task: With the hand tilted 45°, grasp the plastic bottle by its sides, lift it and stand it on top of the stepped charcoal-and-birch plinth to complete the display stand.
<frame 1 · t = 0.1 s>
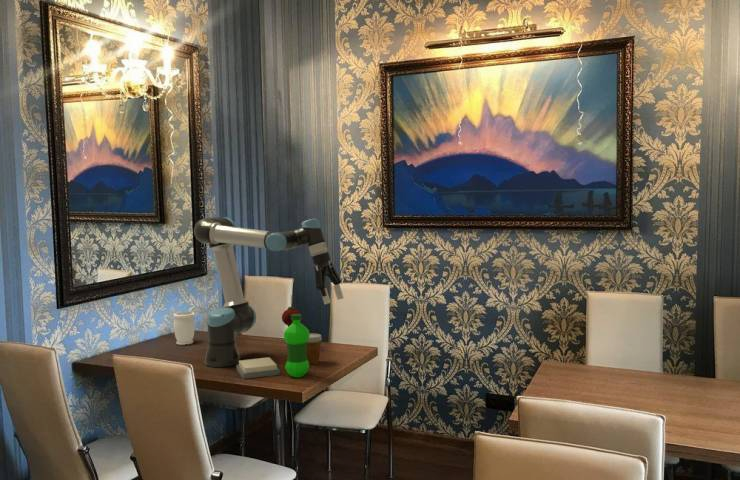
hand: (334, 301, 269), 28 cm above the table, tool tilted 20°, fingers open, 13 cm apart
jar: (184, 343, 315), on the table
disposable coffee cup: (311, 362, 276), on the table
plastic bottle: (297, 375, 256), on the table
stepped plinth: (257, 372, 262), on the table
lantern: (292, 349, 301), on the table
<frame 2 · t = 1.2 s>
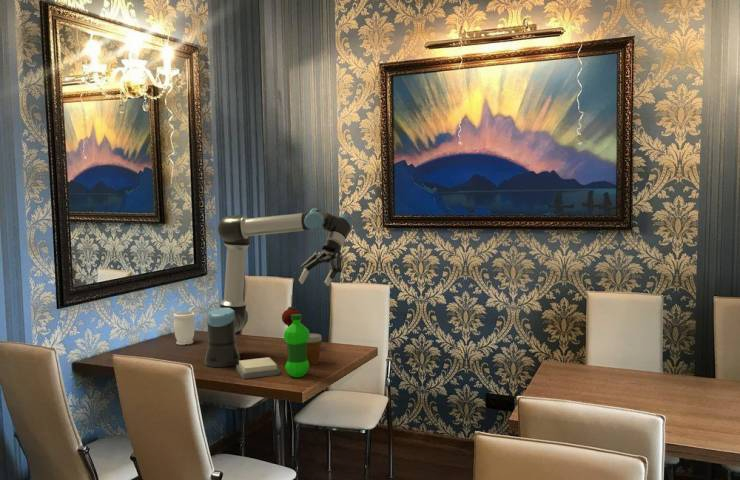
hand: (313, 283, 262), 37 cm above the table, tool tilted 45°, fingers open, 13 cm apart
nothing on the table moved.
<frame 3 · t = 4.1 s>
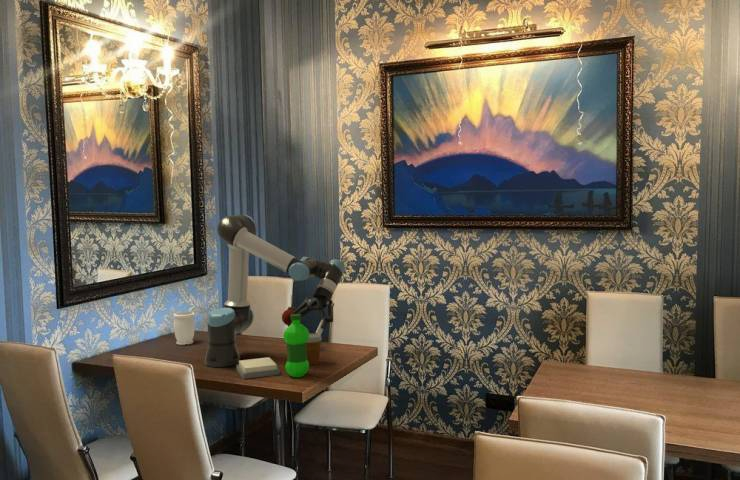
hand: (303, 333, 256), 17 cm above the table, tool tilted 45°, fingers open, 13 cm apart
plastic bottle: (297, 375, 256), on the table, touching gripper
everything else where it was.
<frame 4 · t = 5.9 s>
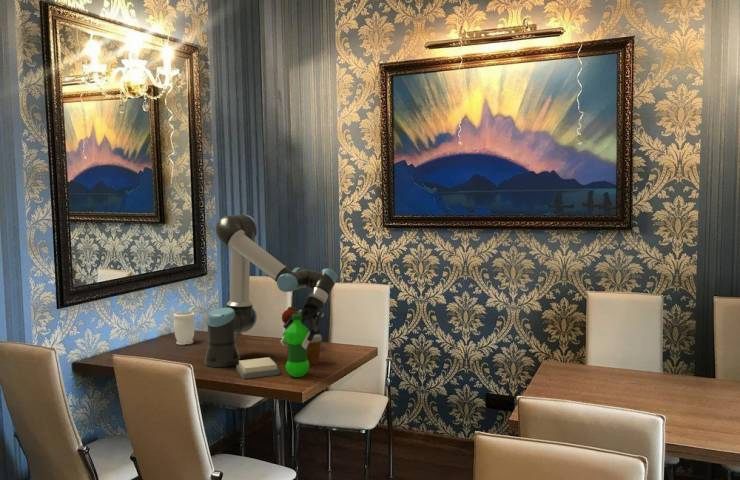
hand: (292, 345, 253), 13 cm above the table, tool tilted 45°, fingers closed on plastic bottle, 10 cm apart
plastic bottle: (297, 375, 256), on the table, touching gripper
everything else where it was.
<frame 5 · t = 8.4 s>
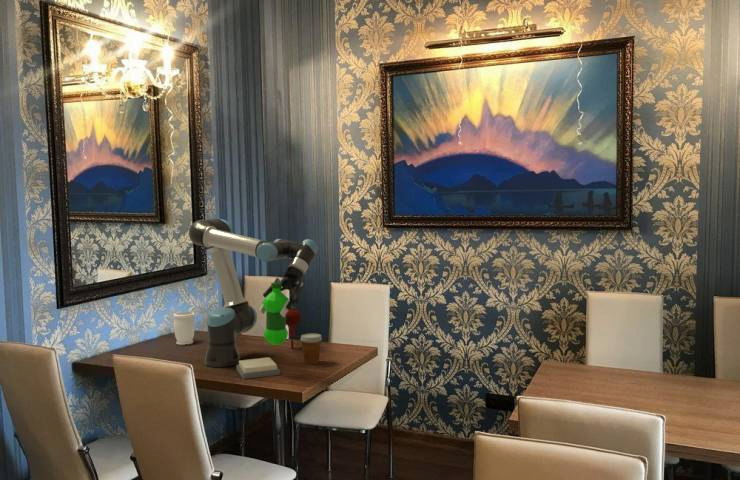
hand: (271, 313, 254), 26 cm above the table, tool tilted 45°, fingers closed on plastic bottle, 10 cm apart
plastic bottle: (275, 343, 258), point 13 cm above the table, touching gripper
everything else where it was.
when the fingers open (18 cm above the table, at t = 10.9 s): plastic bottle drops 2 cm, resting on stepped plinth.
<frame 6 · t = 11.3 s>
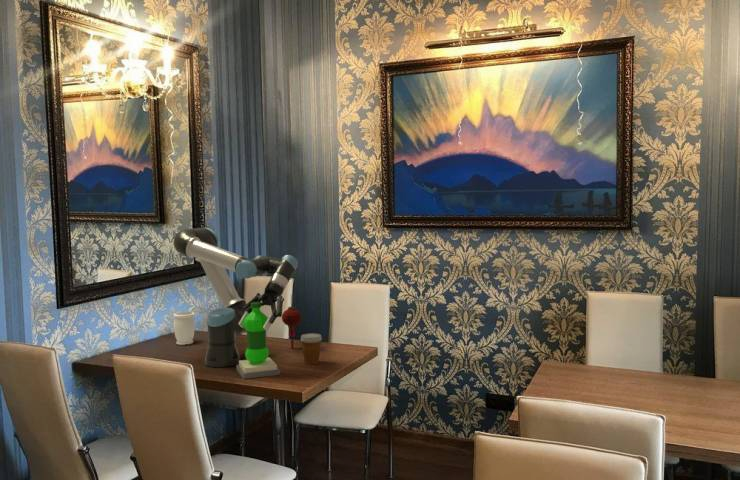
hand: (252, 327, 258), 19 cm above the table, tool tilted 45°, fingers open, 13 cm apart
plastic bottle: (257, 362, 262), point 4 cm above the table, touching stepped plinth
everything else where it was.
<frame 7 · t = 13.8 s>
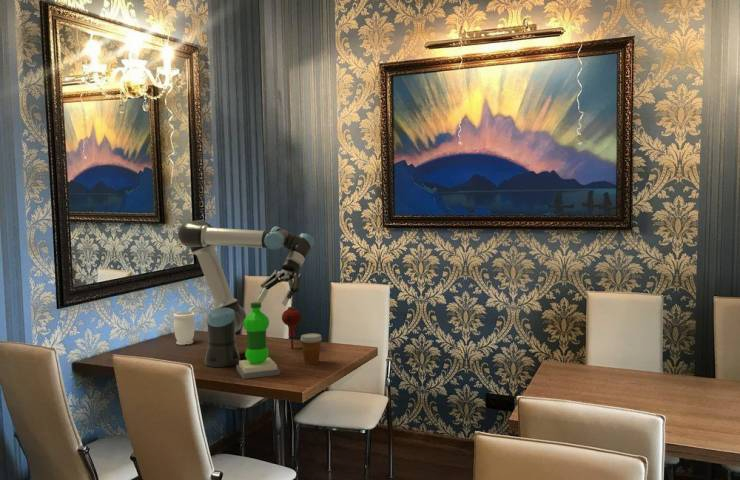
hand: (271, 302, 267), 28 cm above the table, tool tilted 45°, fingers open, 13 cm apart
nothing on the table moved.
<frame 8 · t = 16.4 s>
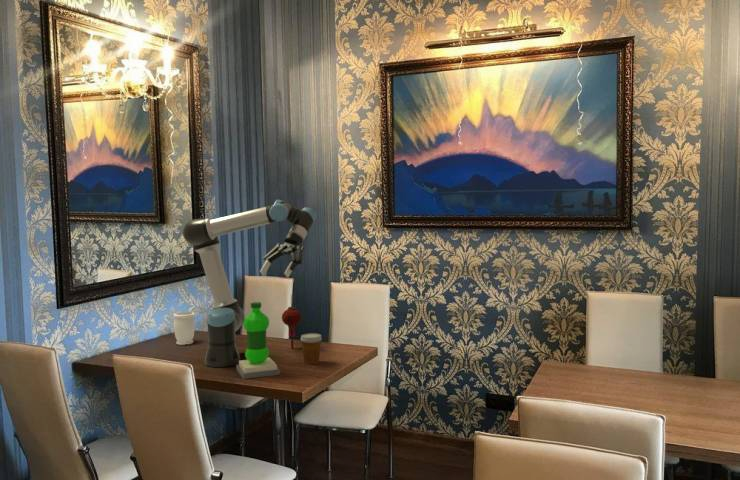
hand: (273, 274, 268), 40 cm above the table, tool tilted 45°, fingers open, 13 cm apart
nothing on the table moved.
at the end: plastic bottle 0.3 cm off-centre on the stepped plinth, point 3.8 cm above the stepped plinth's base; plastic bottle tilted 0°; the gripper is holding nothing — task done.
